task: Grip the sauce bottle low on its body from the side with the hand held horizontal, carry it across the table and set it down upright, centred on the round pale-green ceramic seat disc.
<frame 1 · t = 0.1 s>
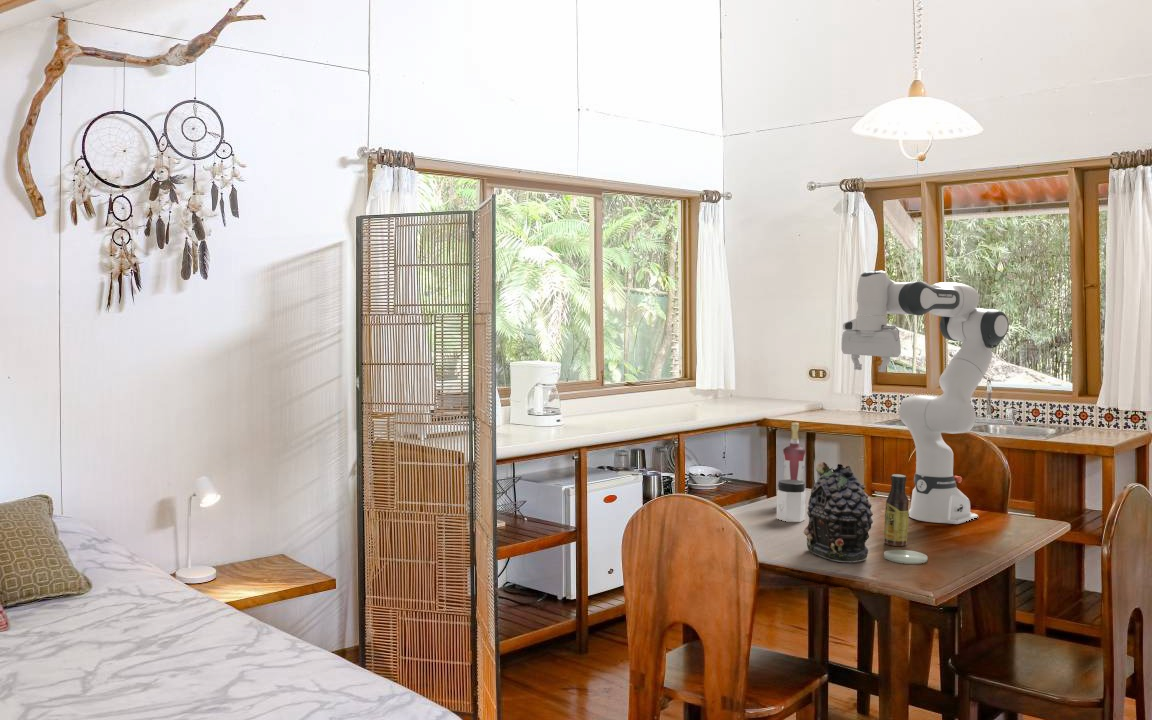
hand: (869, 370, 288), 48 cm above the table, tool pointing down, fingers open, 8 cm apart
seat disc: (905, 558, 256), on the table
jar: (790, 520, 302), on the table
decorative house: (837, 556, 258), on the table
sauce bottle: (895, 545, 271), on the table
liquor: (792, 505, 324), on the table
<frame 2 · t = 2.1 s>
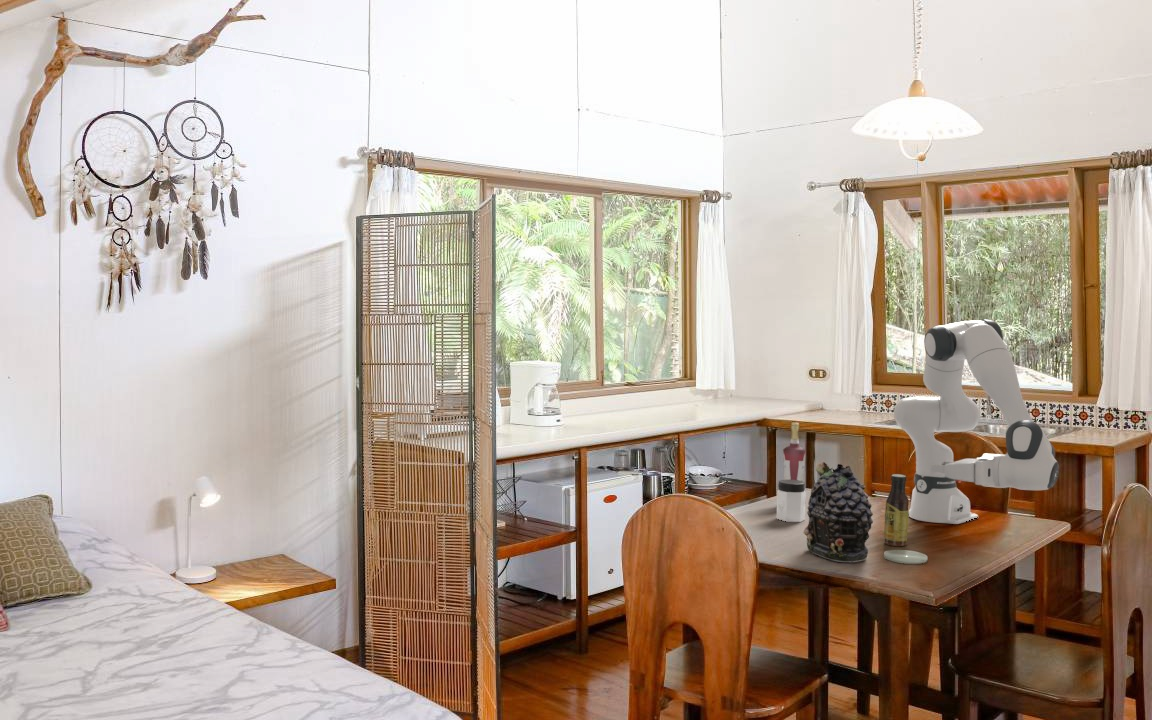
hand: (937, 466, 264), 24 cm above the table, tool horizontal, fingers open, 8 cm apart
nothing on the table moved.
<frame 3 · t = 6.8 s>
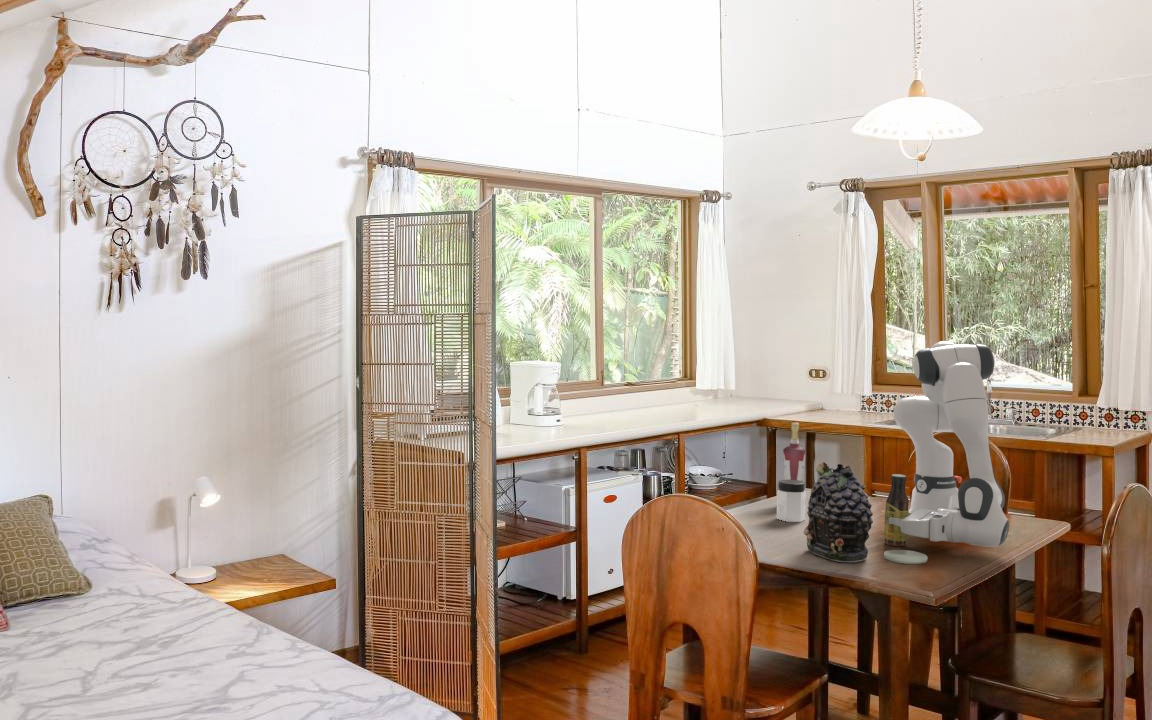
hand: (893, 517, 271), 8 cm above the table, tool horizontal, fingers closed on sauce bottle, 6 cm apart
sauce bottle: (895, 545, 271), on the table, touching gripper
everything else where it was.
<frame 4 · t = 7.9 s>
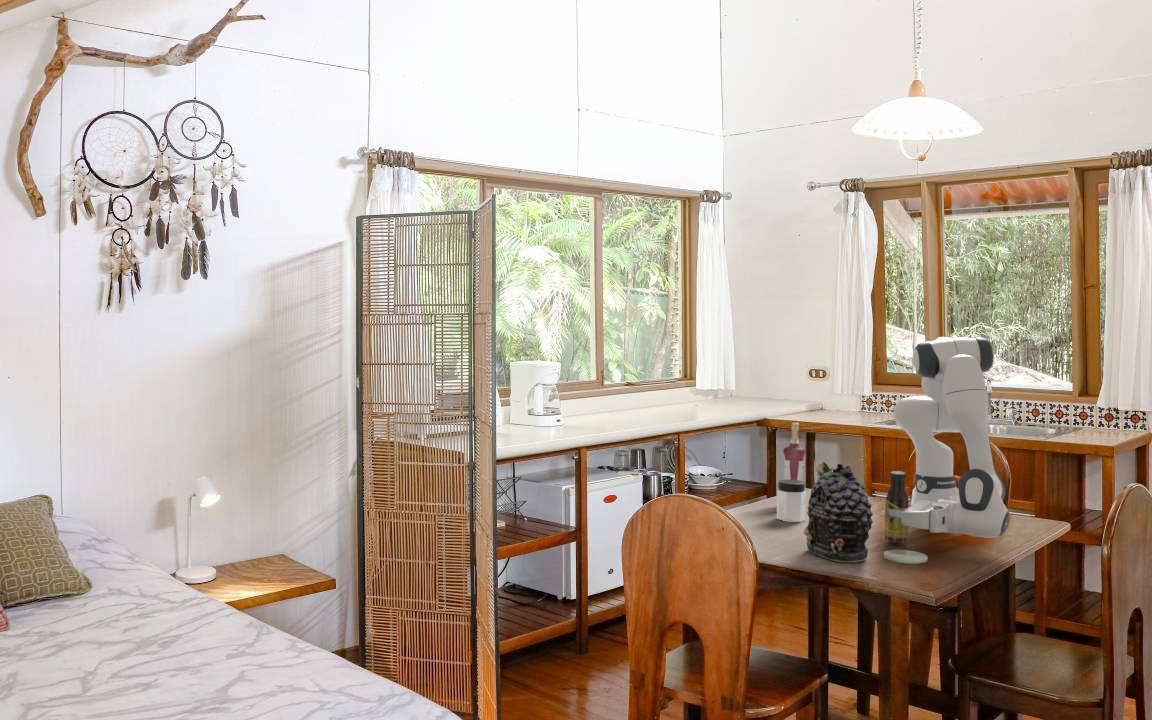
hand: (893, 509, 272), 10 cm above the table, tool horizontal, fingers closed on sauce bottle, 6 cm apart
sauce bottle: (896, 541, 272), point 1 cm above the table, touching gripper
everything else where it was.
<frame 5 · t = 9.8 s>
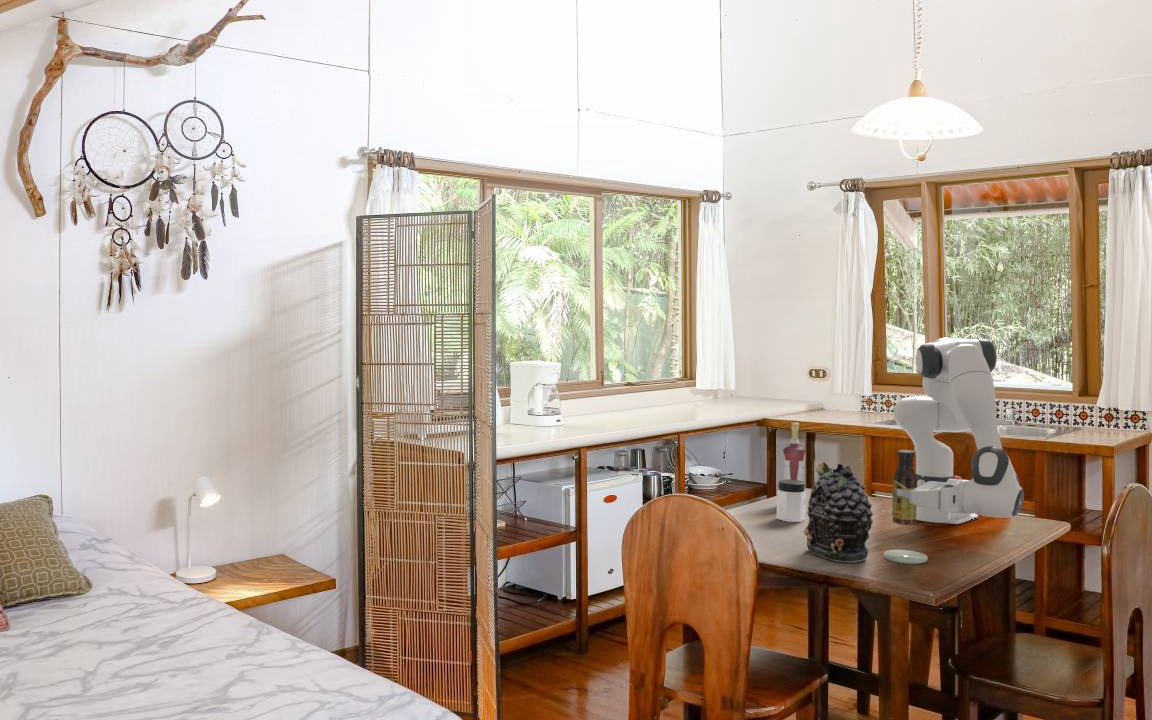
hand: (901, 490, 259), 18 cm above the table, tool horizontal, fingers closed on sauce bottle, 6 cm apart
sauce bottle: (904, 524, 259), point 8 cm above the table, touching gripper
everything else where it was.
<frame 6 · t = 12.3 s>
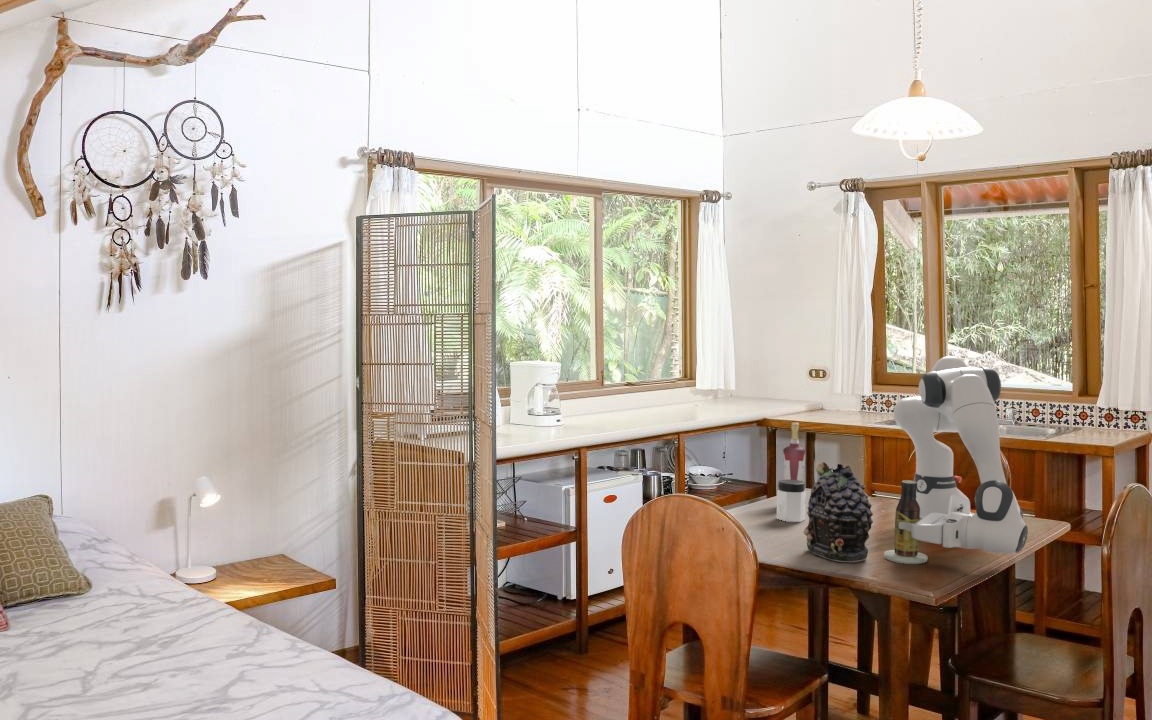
hand: (903, 522, 256), 10 cm above the table, tool horizontal, fingers closed on sauce bottle, 6 cm apart
sauce bottle: (906, 555, 256), point 1 cm above the table, touching gripper, seat disc
everything else where it was.
when the fingers open (10 cm above the table, at t = 12.6 s): sauce bottle stays where it is, resting on seat disc.
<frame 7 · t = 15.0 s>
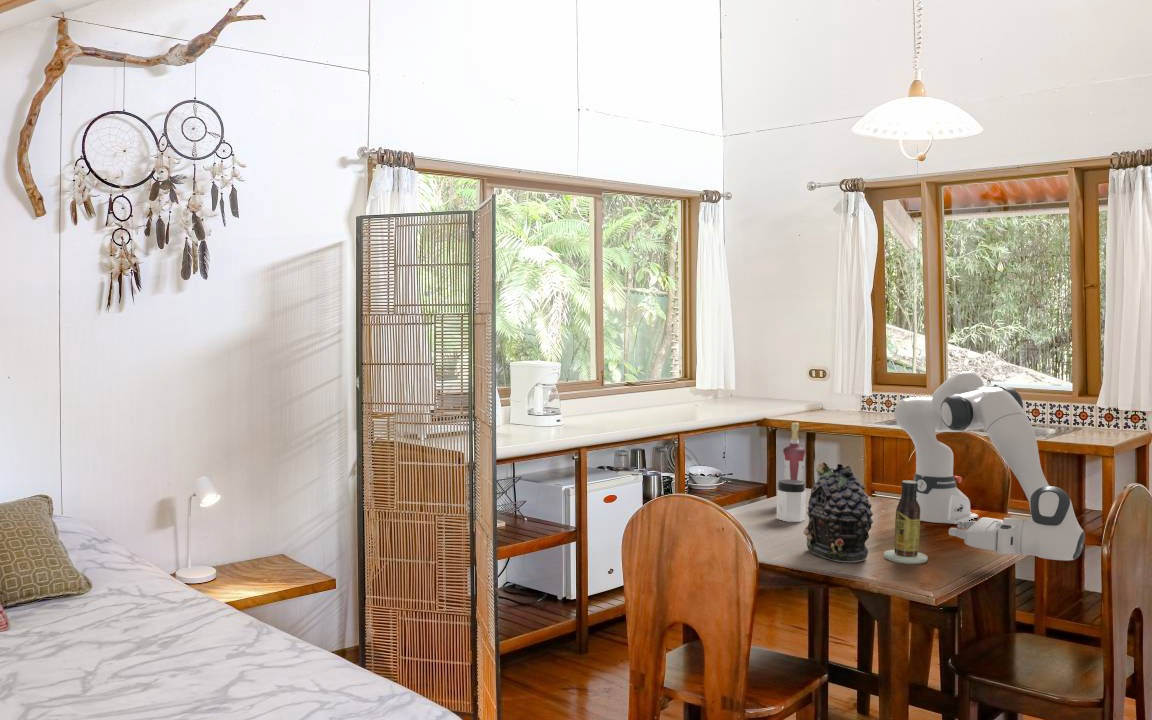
hand: (953, 527, 249), 10 cm above the table, tool horizontal, fingers open, 8 cm apart
sauce bottle: (906, 555, 256), point 1 cm above the table, touching seat disc
everything else where it was.
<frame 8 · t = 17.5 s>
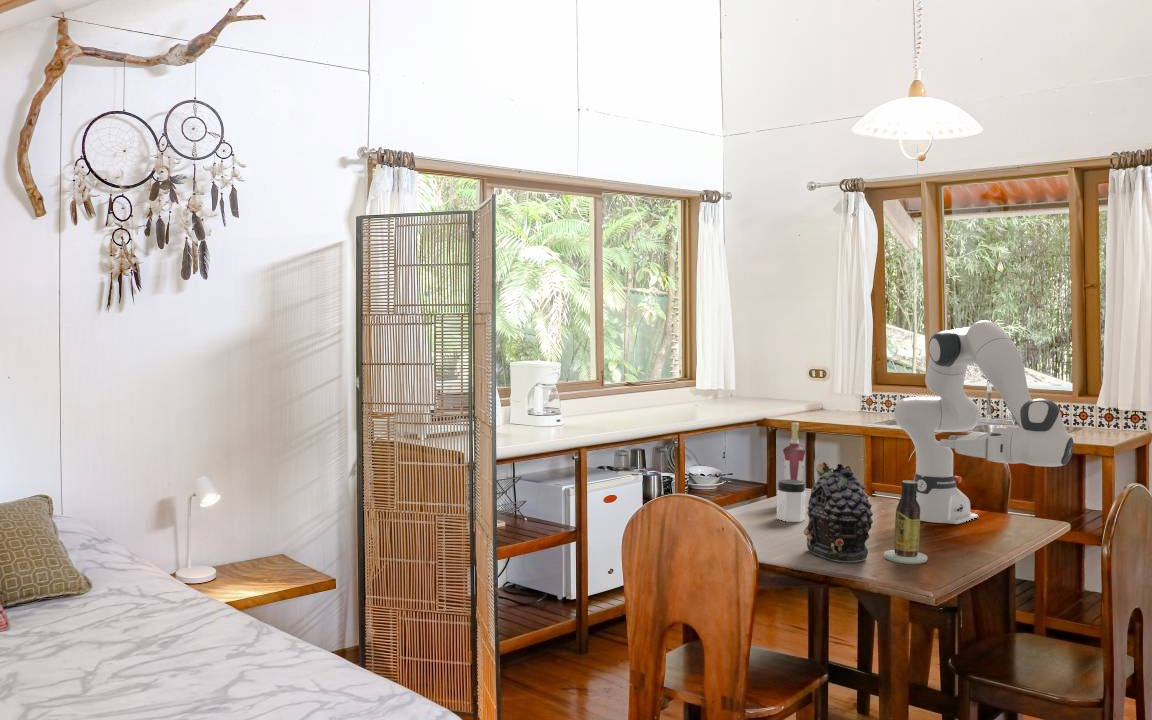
hand: (945, 440, 254), 32 cm above the table, tool horizontal, fingers open, 8 cm apart
nothing on the table moved.
at the end: sauce bottle inside the target area on the seat disc (0.3 cm from its centre), point 0.8 cm above the seat disc's base; sauce bottle tilted 0°; the gripper is holding nothing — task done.
